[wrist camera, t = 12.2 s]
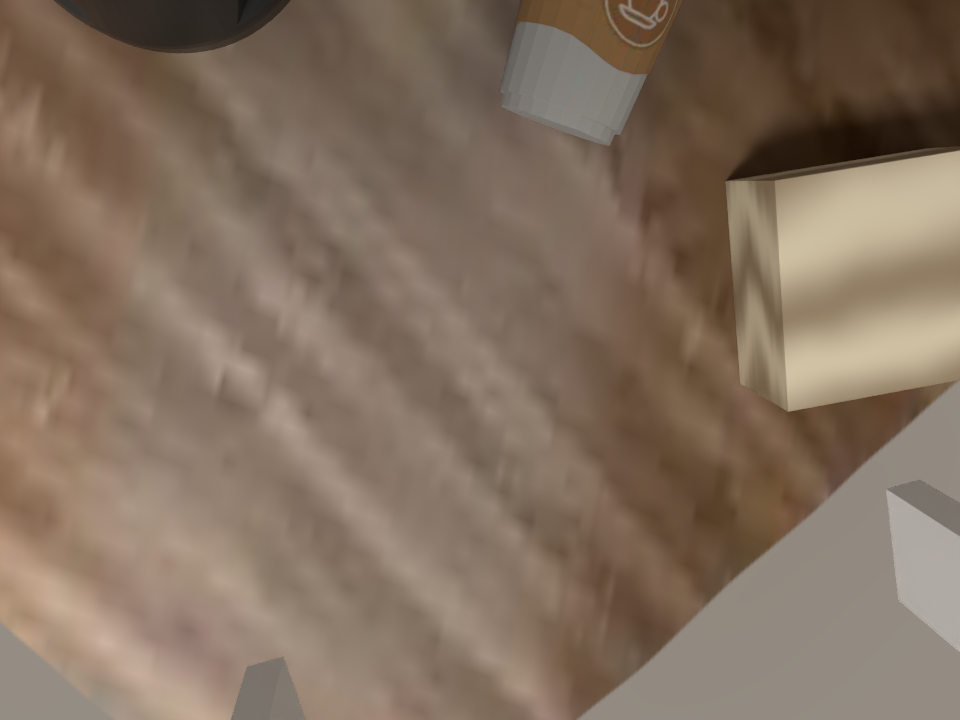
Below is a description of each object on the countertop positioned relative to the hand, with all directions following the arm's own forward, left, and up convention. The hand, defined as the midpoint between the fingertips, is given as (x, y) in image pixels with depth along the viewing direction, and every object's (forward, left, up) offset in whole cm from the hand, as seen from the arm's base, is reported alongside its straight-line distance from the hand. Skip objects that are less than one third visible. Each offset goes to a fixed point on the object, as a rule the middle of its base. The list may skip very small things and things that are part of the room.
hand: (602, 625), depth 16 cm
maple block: (-4, +21, -29) cm, 36 cm away
